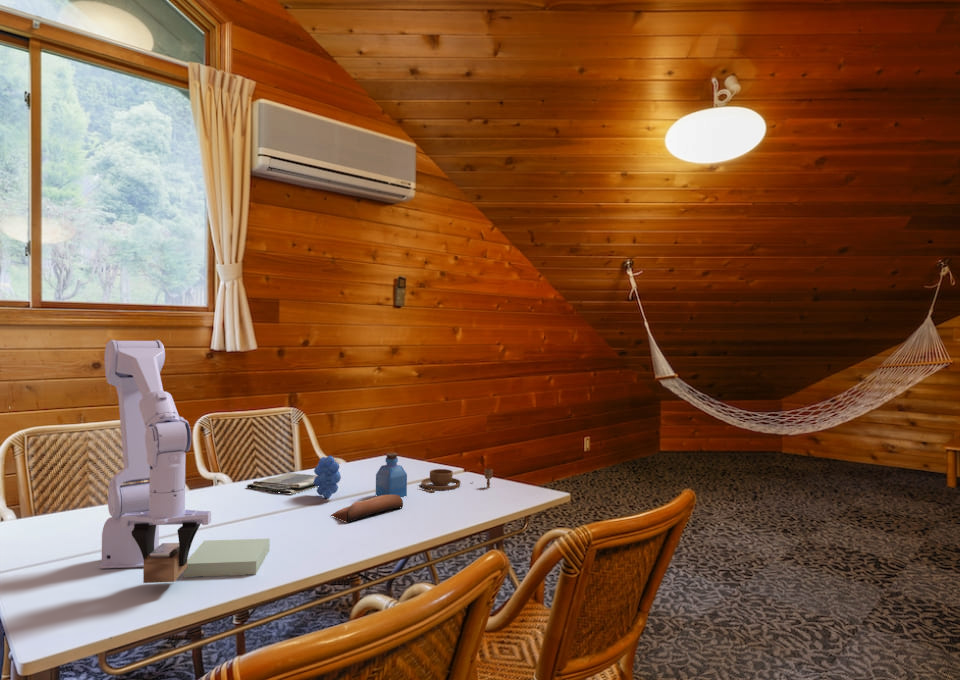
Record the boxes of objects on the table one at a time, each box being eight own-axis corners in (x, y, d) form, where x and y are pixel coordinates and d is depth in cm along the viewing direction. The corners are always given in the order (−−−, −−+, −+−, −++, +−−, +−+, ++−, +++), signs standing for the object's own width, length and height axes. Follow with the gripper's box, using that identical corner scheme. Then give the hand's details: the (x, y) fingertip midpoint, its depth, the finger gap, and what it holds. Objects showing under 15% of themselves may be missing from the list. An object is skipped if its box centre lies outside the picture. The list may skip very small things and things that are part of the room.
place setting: (443, 478, 198) (443, 460, 198) (495, 488, 186) (495, 469, 186) (407, 489, 183) (407, 470, 183) (461, 500, 172) (462, 480, 172)
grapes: (351, 499, 170) (352, 456, 170) (330, 503, 165) (331, 459, 165) (328, 491, 178) (329, 450, 178) (307, 495, 173) (308, 453, 173)
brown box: (143, 583, 106) (143, 559, 106) (158, 567, 113) (158, 545, 113) (174, 581, 106) (174, 558, 106) (187, 566, 113) (187, 544, 113)
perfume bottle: (406, 496, 174) (407, 454, 174) (389, 500, 169) (390, 457, 169) (392, 492, 178) (393, 451, 178) (375, 496, 174) (376, 453, 174)
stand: (183, 577, 114) (183, 563, 114) (204, 552, 127) (204, 540, 127) (256, 574, 116) (256, 561, 116) (269, 550, 129) (269, 538, 129)
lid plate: (150, 561, 107) (150, 553, 107) (162, 551, 112) (162, 543, 112) (169, 561, 107) (169, 553, 107) (180, 551, 112) (180, 542, 112)
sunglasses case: (382, 502, 167) (391, 483, 165) (397, 519, 163) (406, 500, 161) (327, 516, 153) (336, 496, 151) (342, 536, 150) (351, 515, 147)
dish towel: (289, 477, 196) (289, 467, 196) (333, 484, 189) (334, 473, 189) (244, 490, 180) (244, 479, 180) (291, 498, 172) (291, 486, 172)
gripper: (113, 495, 104) (112, 575, 105) (203, 494, 107) (202, 571, 107) (131, 485, 111) (130, 559, 112) (214, 484, 114) (213, 557, 114)
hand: (166, 564), depth 110 cm, fingers closed on brown box, 5 cm apart
